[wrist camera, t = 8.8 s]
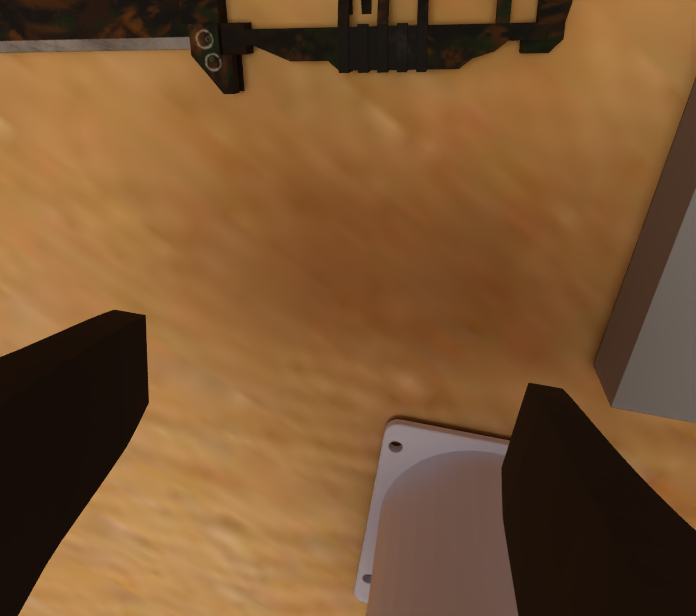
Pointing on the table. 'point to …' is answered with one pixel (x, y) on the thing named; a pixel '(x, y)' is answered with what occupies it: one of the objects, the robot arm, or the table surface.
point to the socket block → (659, 298)
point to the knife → (268, 35)
